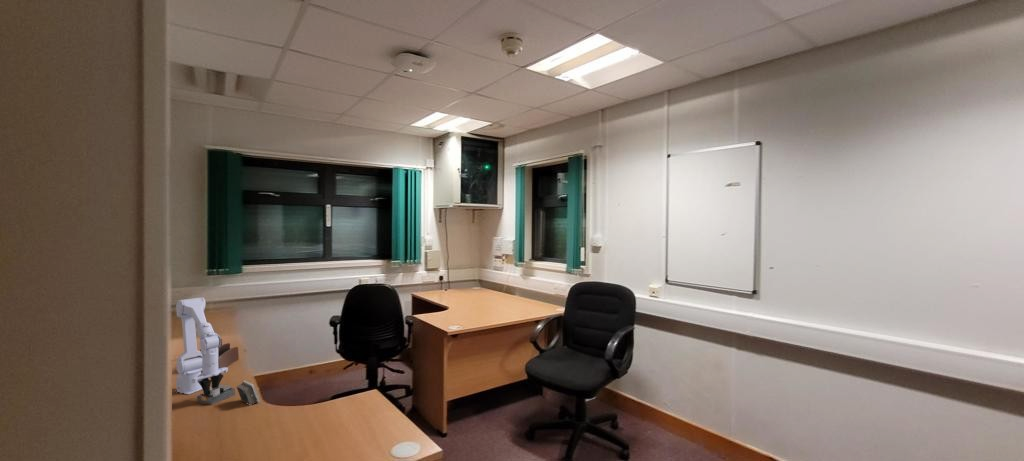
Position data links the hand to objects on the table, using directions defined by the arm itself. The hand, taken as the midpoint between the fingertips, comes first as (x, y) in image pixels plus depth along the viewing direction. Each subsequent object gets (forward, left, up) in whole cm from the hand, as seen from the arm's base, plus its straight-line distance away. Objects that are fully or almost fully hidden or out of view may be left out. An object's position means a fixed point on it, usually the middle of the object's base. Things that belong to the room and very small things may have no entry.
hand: (210, 393), depth 177 cm
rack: (0, +3, -3) cm, 4 cm away
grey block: (0, 0, -3) cm, 3 cm away
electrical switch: (+18, +4, -4) cm, 19 cm away
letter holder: (-40, +35, -4) cm, 53 cm away
